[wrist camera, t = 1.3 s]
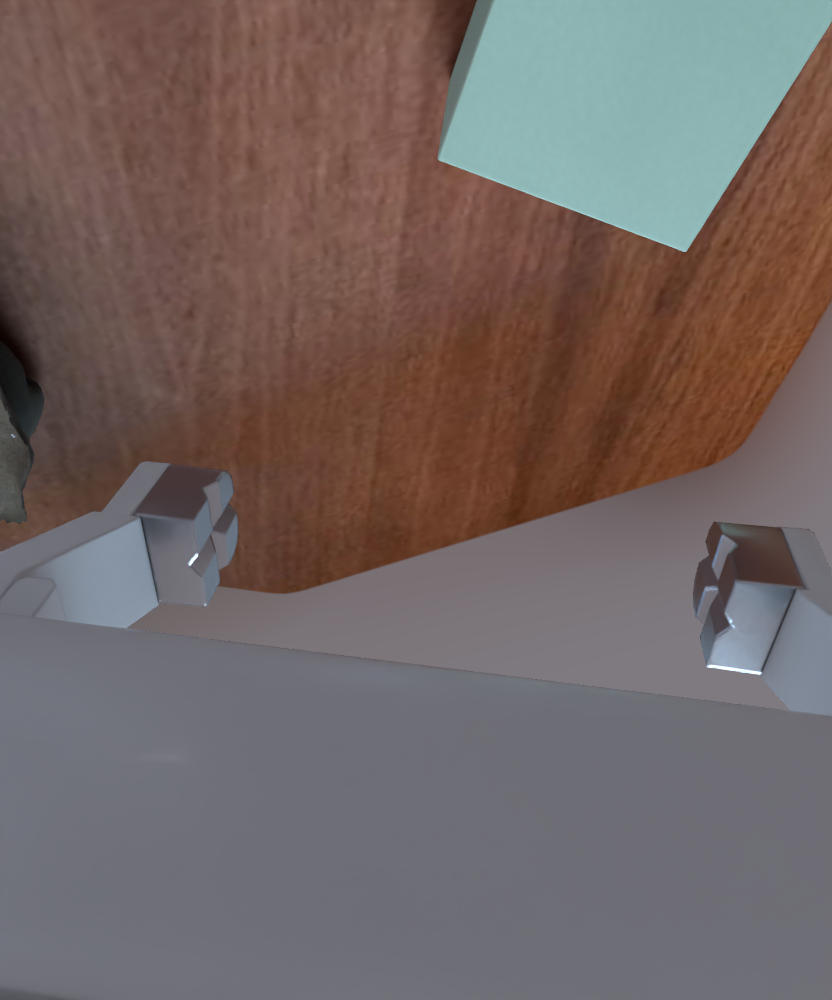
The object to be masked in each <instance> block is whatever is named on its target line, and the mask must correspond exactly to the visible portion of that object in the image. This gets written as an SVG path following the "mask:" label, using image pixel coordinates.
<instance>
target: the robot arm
mask: <svg viewBox="0 0 832 1000" xmlns="http://www.w3.org/2000/svg"><path fill="white" fill-rule="evenodd" d="M233 493H234V486H233V480H232V475H231V474H230V473H229V472H228V471H225V470H217V469H209V468H201V467H193V466H185V465H177V464H173V465H172V464H169V463H159V462H149V461H146V462H143V463H140V464H139V465H138V467H137V468H136V469H135V470H134V472H133V473H132V474H131V475H130V477H129V478H128V479H127V480H126V482H125V483H124V484H123V486H122V487H121V488H120V489H119V491H118V492H117V493H116V494H115V496H114V497H113V498H112V499H111V501H110V502H109V503H108V505H107V506H106V507H105V508H104V510H103V511H102V512H94V511H93V512H91V513H89V514H86V515H84V516H82V517H79V518H77V519H75V520H73V521H70V522H68V523H66V524H63V525H61V526H59V527H56V528H54V529H52V530H50V531H47V532H45V533H43V534H40V535H38V536H36V537H34V538H31V539H29V540H27V541H24V542H22V543H20V544H18V545H15V546H13V547H11V548H8V549H6V550H4V551H2V552H0V1000H832V570H831V568H830V566H829V564H828V562H827V559H826V557H825V555H824V553H823V551H822V549H821V546H820V544H819V542H818V540H817V538H816V536H815V533H814V532H813V531H811V530H810V529H802V528H788V527H767V526H755V525H745V524H733V523H723V522H714V523H713V524H712V526H711V528H710V529H709V533H708V536H707V539H706V545H707V549H708V553H709V556H708V557H706V558H705V559H703V560H702V561H701V562H699V565H698V568H697V572H696V576H695V581H694V591H693V605H694V611H695V616H696V618H697V619H698V620H699V621H700V622H701V623H702V624H703V625H704V626H703V629H702V632H701V635H700V639H701V644H702V648H703V653H704V657H705V661H706V666H707V667H711V668H718V669H725V670H732V671H738V672H746V673H753V674H759V675H761V678H762V679H763V680H764V682H765V683H766V684H767V685H768V686H769V687H770V688H771V689H772V690H773V692H774V693H775V694H776V695H777V696H778V697H779V698H780V699H781V700H782V702H783V703H784V704H785V705H786V706H787V707H788V708H789V709H790V711H789V710H780V709H773V708H765V707H757V706H748V705H741V704H732V703H725V702H716V701H709V700H700V699H692V698H684V697H676V696H667V695H660V694H652V693H643V692H636V691H628V690H619V689H610V688H603V687H595V686H586V685H579V684H570V683H563V682H554V681H546V680H538V679H530V678H522V677H514V676H506V675H498V674H490V673H489V674H488V673H481V672H473V671H465V670H457V669H449V668H440V667H433V666H425V665H417V664H409V663H401V662H393V661H385V660H376V659H368V658H360V657H352V656H344V655H335V654H328V653H320V652H312V651H304V650H296V649H288V648H280V647H271V646H263V645H255V644H247V643H239V642H231V641H223V640H215V639H206V638H199V637H190V636H183V635H175V634H166V633H159V632H150V631H142V630H134V629H126V628H127V627H128V626H130V625H131V624H132V623H134V622H135V621H137V620H138V619H139V618H141V617H142V616H144V615H145V614H146V613H148V612H149V611H151V610H152V609H153V608H155V607H156V606H158V602H159V603H171V604H181V605H191V606H202V607H207V606H208V604H209V601H210V600H211V598H212V596H213V594H214V592H215V590H216V588H217V586H218V584H219V582H220V576H219V570H220V569H221V568H223V567H225V566H227V565H228V564H229V563H230V561H231V559H232V557H233V555H234V552H235V548H236V543H237V539H238V518H237V512H236V511H235V510H234V509H233V508H232V507H231V505H230V504H229V503H228V502H229V501H230V499H231V497H232V495H233Z"/></svg>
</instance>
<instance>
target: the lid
mask: <svg viewBox="0 0 832 1000" xmlns="http://www.w3.org/2000/svg"><path fill="white" fill-rule="evenodd" d="M831 22H832V0H492V2H491V5H490V7H489V10H488V13H487V16H486V19H485V22H484V25H483V27H482V30H481V33H480V36H479V39H478V42H477V44H476V47H475V50H474V53H473V56H472V59H471V62H470V64H469V67H468V70H467V73H466V76H465V79H464V81H463V84H462V87H461V90H460V93H459V96H458V99H457V101H456V104H455V107H454V110H453V113H452V116H451V118H450V121H449V124H448V127H447V130H446V133H445V136H444V138H443V141H442V144H441V147H440V150H439V153H438V160H440V161H442V162H445V163H448V164H450V165H453V166H456V167H458V168H461V169H464V170H467V171H469V172H472V173H475V174H477V175H480V176H483V177H485V178H488V179H491V180H493V181H496V182H499V183H501V184H504V185H507V186H509V187H512V188H515V189H517V190H520V191H523V192H526V193H528V194H531V195H534V196H536V197H539V198H542V199H544V200H547V201H550V202H552V203H555V204H558V205H560V206H563V207H566V208H568V209H571V210H574V211H576V212H579V213H582V214H585V215H587V216H590V217H593V218H595V219H598V220H601V221H603V222H606V223H609V224H611V225H614V226H617V227H619V228H622V229H625V230H627V231H630V232H633V233H635V234H638V235H641V236H644V237H646V238H649V239H652V240H654V241H657V242H660V243H662V244H665V245H668V246H670V247H673V248H676V249H678V250H681V251H684V252H686V251H687V250H688V248H689V246H690V245H691V243H692V242H693V240H694V239H695V237H696V235H697V234H698V232H699V231H700V229H701V227H702V226H703V224H704V223H705V221H706V220H707V218H708V216H709V215H710V213H711V212H712V210H713V208H714V207H715V205H716V204H717V202H718V201H719V199H720V197H721V196H722V194H723V193H724V191H725V189H726V188H727V186H728V185H729V183H730V182H731V180H732V178H733V177H734V175H735V174H736V172H737V170H738V169H739V167H740V166H741V164H742V163H743V161H744V159H745V158H746V156H747V155H748V153H749V151H750V150H751V148H752V147H753V145H754V144H755V142H756V140H757V139H758V137H759V136H760V134H761V133H762V131H763V129H764V128H765V126H766V125H767V123H768V121H769V120H770V118H771V117H772V115H773V114H774V112H775V110H776V109H777V107H778V106H779V104H780V102H781V101H782V99H783V98H784V96H785V95H786V93H787V91H788V90H789V88H790V87H791V85H792V83H793V82H794V80H795V79H796V77H797V76H798V74H799V72H800V71H801V69H802V68H803V66H804V64H805V63H806V61H807V60H808V58H809V57H810V55H811V53H812V52H813V50H814V49H815V47H816V45H817V44H818V42H819V41H820V39H821V38H822V36H823V34H824V33H825V31H826V30H827V28H828V26H829V25H830V23H831Z"/></svg>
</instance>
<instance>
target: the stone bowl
mask: <svg viewBox="0 0 832 1000" xmlns="http://www.w3.org/2000/svg"><path fill="white" fill-rule="evenodd" d="M43 404H44V397H43V393H42V390H41V387H40V386H39V385H38V383H37V382H35V381H34V380H32V379H31V378H29V377H28V376H26V375H25V372H24V369H23V366H22V364H21V362H20V360H19V359H18V358H16V357H15V356H14V355H13V353H12V351H11V350H10V349H9V348H8V347H7V346H5V345H4V344H3V343H2V342H1V341H0V520H4V519H5V520H6V522H7V523H10V522H17V523H19V524H20V523H21V522H22V521H26V522H27V515H26V512H25V507H24V499H23V494H22V490H23V488H24V487H25V484H26V481H27V477H28V475H29V473H30V470H31V467H32V464H33V460H34V452H33V449H32V447H31V445H30V442H29V437H30V436H31V435H32V434H33V433H34V431H35V430H36V427H37V425H38V422H39V420H40V417H41V415H42V410H43Z"/></svg>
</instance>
